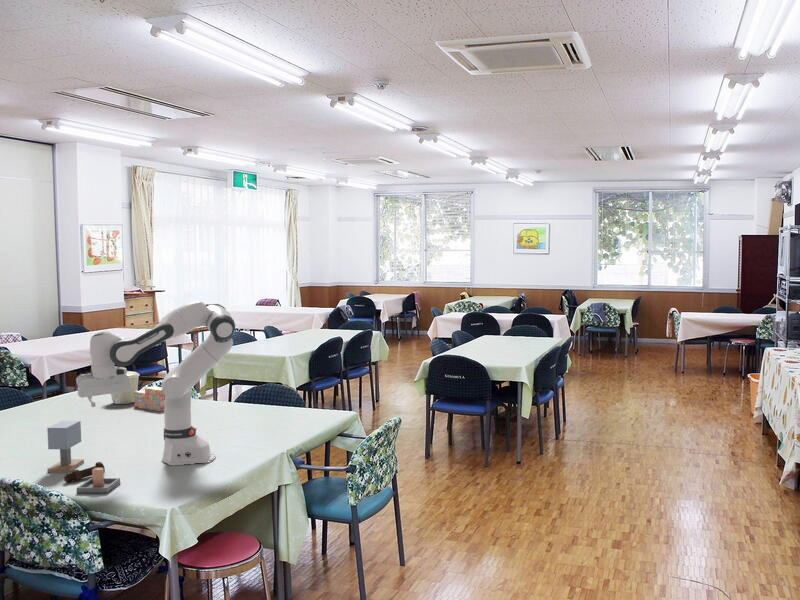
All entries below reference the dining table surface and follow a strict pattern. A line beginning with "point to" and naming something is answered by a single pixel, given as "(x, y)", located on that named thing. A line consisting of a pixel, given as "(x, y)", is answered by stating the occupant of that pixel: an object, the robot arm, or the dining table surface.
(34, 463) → the dining table surface
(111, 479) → the parts tray
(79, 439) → the mounted unit
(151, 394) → the stack of blocks
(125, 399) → the canister
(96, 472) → the peach rounded cylinder
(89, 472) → the bolt
